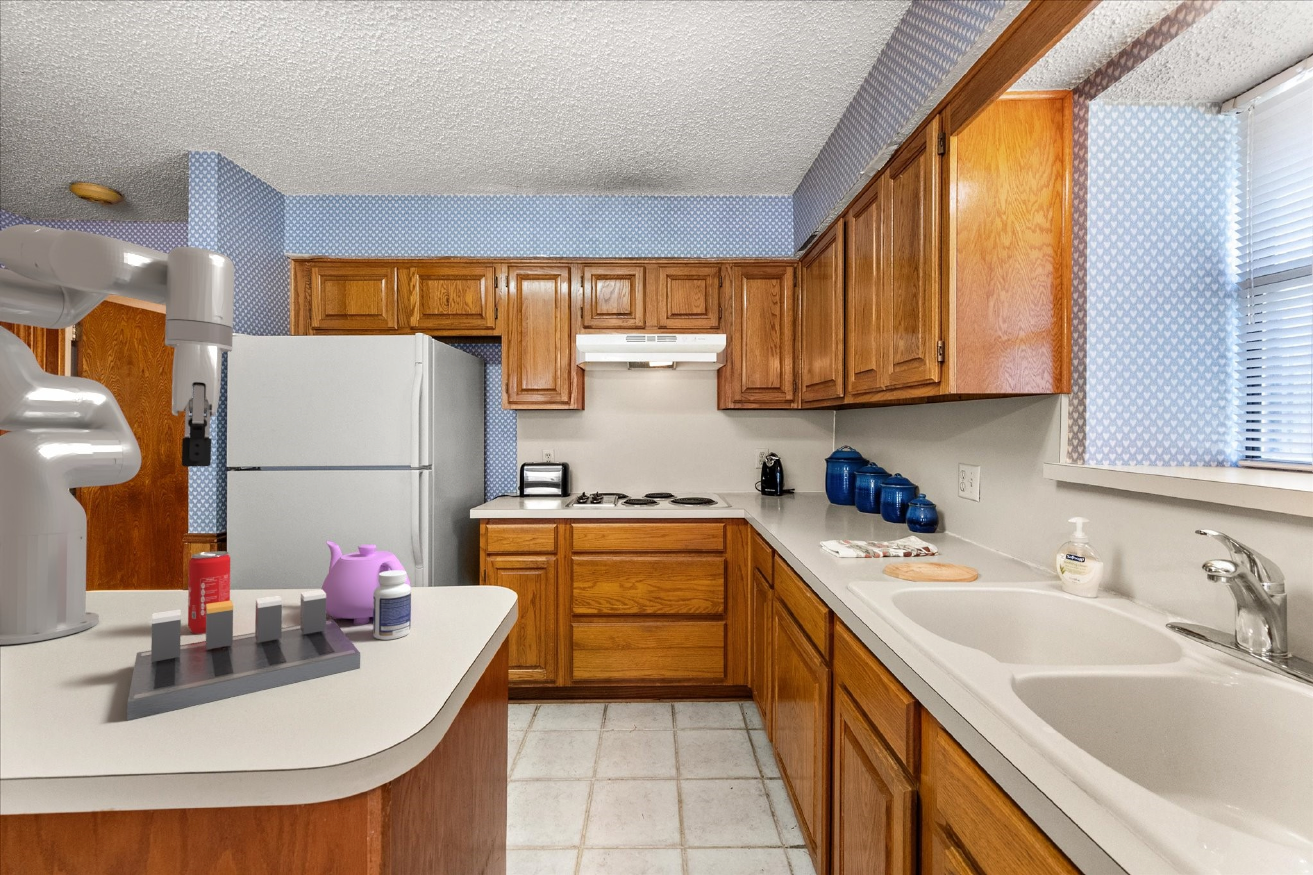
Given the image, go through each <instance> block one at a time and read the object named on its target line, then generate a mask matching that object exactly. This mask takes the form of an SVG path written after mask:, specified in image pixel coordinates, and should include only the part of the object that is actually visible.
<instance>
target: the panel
mask: <svg viewBox="0 0 1313 875" xmlns="http://www.w3.org/2000/svg"><path fill="white" fill-rule="evenodd" d="M135 656H136V657H135V661H134V666H133V672H132V676H131V683H130V687H129V688H130V689H129V693H128V698H127V711H126V712H127V715H126V717H127V718H126V719H127V721H131V720H136V719H139V718H144V717H145V718H146V717H149V716H153V715H158V714H163V713H166V712H167V713H168V712H171V711H176V710H180V709H184V708H185V709H186V708H189V707H193V706H197V705H202V704H207V703H210V702H215V701H220V700H224V699H228V698H233V697H236V696H237V697H238V696H242V695H247V694H250V693H255V692H260V691H263V690H269V689H272V688H277V687H283V686H287V685H290V684H294V683H299V682H303V681H309V680H313V679H317V678H321V677H326V676H329V675H331V676H332V675H335V674H339V673H342V672H348V671H351V670H352V671H353V670H356V669H361V652H360V651H359V649H358V648H357V647H356V646H355V644H353V642H352V641H351V640H350V638H349V637H348V636H347V635H346V633H345V632H344V631H343V630H342V629H341V628H340V626H339V625H338V624H337V623H336V621H335V619H333V618H331V619H326V630H325V631H319V632H314V633H308V634H303V632H302V631H301V629H300V624H296V625H291V626H290V625H289V626H284V627H282V637H281V639H275V640H270V641H264V642H259V643H257V640H256V638H255V632H251V633H249V632H248V633H245V634H244V633H243V634H238V635H233V645H229V646H224V647H218V648H213V649H206V640H204V641H197V642H191V643H186V644H180V657H176V658H171V659H165V660H160V661H154V662H151V649H150V650H144V651H139V652H136V655H135ZM308 679H309V680H308Z"/></svg>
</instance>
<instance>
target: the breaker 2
mask: <svg viewBox="0 0 1313 875" xmlns="http://www.w3.org/2000/svg"><path fill="white" fill-rule="evenodd" d="M282 615H283V600H282V598H281V596H280V595H274V596H273V595H272V596H266V597H260V598H259V597H258V598H255V626H254V627H255V631H254V633H255V638H256V640H257V643H259V642H264V641H270V640H275V639H281V637H282V628H283V627H282V626H283V625H282V624H283V616H282Z"/></svg>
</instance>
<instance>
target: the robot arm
mask: <svg viewBox="0 0 1313 875" xmlns="http://www.w3.org/2000/svg"><path fill="white" fill-rule="evenodd" d="M0 262H1V264H2V265H3V266H5V267H6V268H7V269H6V268H1V267H0V322H4V323H10V324H17V325H25V326H29V327H37V328H44V329H51V330H52V329H54V330H58V329H59V330H60V329H61V330H62V329H67V328H71V327H73V326H74V325H76V324H77V323H79V322H81V320H82V319H84V318H85V317H86V316H87V315H88V314H90V313H91V312H92V311H93V310H94V309H95V308H97V306H99V305H100V304H101V303H102V302H104V301H105V300H106V299H107V298H108V297H109V296H110V295H114V296H118V297H119V296H120V297H124V298H129V299H133V300H137V301H138V300H139V301H142V302H143V301H144V302H148V303H152V304H156V305H162V306H165V330H164V332H165V336H164V337H165V338H164V345H165V346H168V347H172V348H174V353H173V362H172V383H171V384H172V385H171V389H172V390H171V413H172V415H174V416H176V417H178V416H179V412H185V416H184V420H185V421H184V422H185V423H184V437H182V443H181V466H182V467H185V468H187V467H190V468H191V467H210V466H211V465H212V464H211V463H212V462H211V461H212V460H211V459H212V438H210V433H211V432H210V427H211V418H212V417H215V416H216V415H217V412H218V407H219V401H220V393H221V382H222V381H221V379H222V358H223V354H222V353H227V352H229V353H230V352H231V353H232V352H233V339H234V338H233V334H234V332H233V331H234V330H233V328H234V304H235V302H234V301H235V298H234V296H235V266H234V263H233V261H232V260H231V259H230V257H228V256H227V255H225V254H223V253H220V252H218V251H214V250H210V249H205V248H202V247H201V248H200V247H194V246H193V247H192V246H178V247H177V246H176V247H175V248H172V249H171V250H170V251H169V252H168V253H166V252H163V251H160V250H157V249H154V248H151V247H147V246H143V245H140V244H136V243H133V242H129V241H125V240H122V239H119V238H116V237H115V238H114V237H111V236H106V235H102V234H98V233H97V234H96V233H92V232H85V231H82V230H81V231H80V230H75V229H68V230H63V229H60V228H59V229H58V228H53V227H48V226H43V225H36V224H17V225H12V226H8V227H5V228H3V229H2V230H0ZM0 430H1V431H8V432H5V433H3V434H1V435H0V646H4V645H18V644H27V643H34V642H40V641H46V640H50V639H51V640H52V639H57V638H62V637H66V636H69V635H73V634H76V633H80V632H83V631H86V630H88V629H90V628H93V627H94V626H96V625H97V624H98V623H99V622H100V617H99V616H100V615H99V614H98V613H96V612H91V611H86V605H87V601H86V598H87V597H86V594H87V592H86V591H87V538H88V537H87V535H88V534H87V532H88V530H87V529H88V527H87V526H88V525H87V515H86V512H85V511H86V510H85V509H84V507H83V506H82V505H81V503H80V502H79V501H78V500H77V499H76V498H75V496H73V494H72V493H71V492H70V491H69V489H74V488H85V487H87V488H88V487H89V488H90V487H98V486H99V487H102V486H111V485H118V484H122V483H126V482H128V481H130V480H132V479H133V478H134V477H136V475H137V474H138V472H139V471H140V469H141V465H142V452H141V449H140V446H139V442H138V440H137V439H136V436H135V434H134V432H133V430H132V428H131V426H130V425H129V423H128V421H127V418H126V417H125V415H124V413H123V411H122V409H121V406H120V405H119V403H118V401H117V399H116V397H115V396H114V394H113V393H112V392H111V391H110V389H109V388H107V387H106V386H105V385H103V384H102V383H100V382H98V381H96V380H94V379H91V378H85V377H81V376H80V377H79V376H71V375H70V376H68V375H58V374H52V373H50V372H47V371H45V370H43V368H42V367H41V366H40V365H39V362H38V360H37V358H36V356H35V354H34V352H33V351H32V349H31V348H30V347H29V346H28V344H26V343H25V342H24V341H23V340H22V339H21V338H20V337H18V336H17V335H16V334H14V333H13V332H11V331H10V330H9V329H7V328H5V327H3V326H2V325H1V324H0Z"/></svg>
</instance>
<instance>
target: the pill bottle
mask: <svg viewBox="0 0 1313 875" xmlns="http://www.w3.org/2000/svg"><path fill="white" fill-rule="evenodd" d="M407 575H408V573H407V571H406V570H405V571H403V570H392V571H385V572H381V573H379V579H378V582H379V584H380V586H379V587H377V588H376V589H375V590H374V595H373V617H372V618H373V619H372V631H373V632H372V637H374V638H375V639H377V640H383V641H384V640H386V641H388V640H389V641H390V640H395V639H399V638H402V637H405V636H407V635H409V634H410V632H411V628H412V627H411V625H412V624H411V623H412V622H411V621H412V618H411V616H412V587H411V588H410V586H411V585H410V586H409V585H407V584H405V582H406V579H407Z"/></svg>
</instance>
